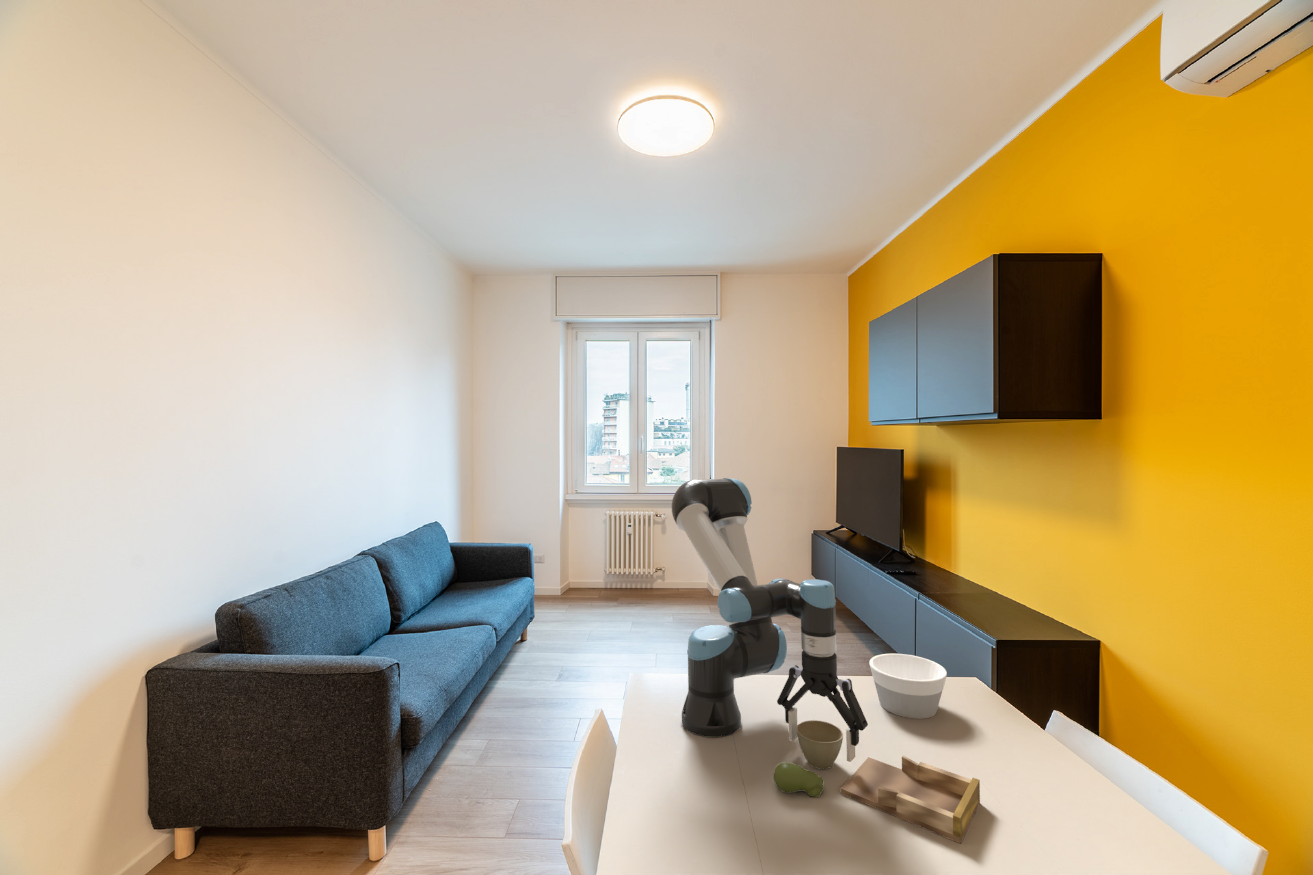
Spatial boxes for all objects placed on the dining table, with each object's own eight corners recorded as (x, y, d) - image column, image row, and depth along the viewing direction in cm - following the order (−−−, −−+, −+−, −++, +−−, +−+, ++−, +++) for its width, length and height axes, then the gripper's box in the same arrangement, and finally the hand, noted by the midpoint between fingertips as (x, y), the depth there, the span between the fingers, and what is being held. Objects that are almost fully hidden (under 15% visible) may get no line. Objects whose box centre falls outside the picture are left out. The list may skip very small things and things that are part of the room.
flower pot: (846, 778, 119) (845, 744, 119) (797, 773, 121) (797, 739, 121) (840, 753, 129) (840, 721, 129) (795, 748, 131) (795, 717, 131)
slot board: (840, 793, 114) (840, 771, 114) (868, 761, 125) (868, 741, 125) (960, 843, 99) (960, 818, 99) (980, 802, 111) (979, 779, 111)
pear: (775, 754, 118) (823, 765, 117) (770, 778, 118) (819, 790, 117) (776, 768, 113) (827, 781, 111) (772, 794, 113) (823, 807, 111)
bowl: (962, 723, 142) (961, 681, 142) (886, 723, 142) (885, 681, 142) (926, 690, 161) (926, 653, 161) (859, 690, 161) (859, 653, 161)
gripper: (761, 644, 130) (763, 736, 130) (868, 669, 114) (871, 776, 113) (777, 635, 136) (779, 724, 135) (881, 659, 120) (884, 760, 119)
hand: (821, 748), depth 124 cm, fingers open, 13 cm apart
